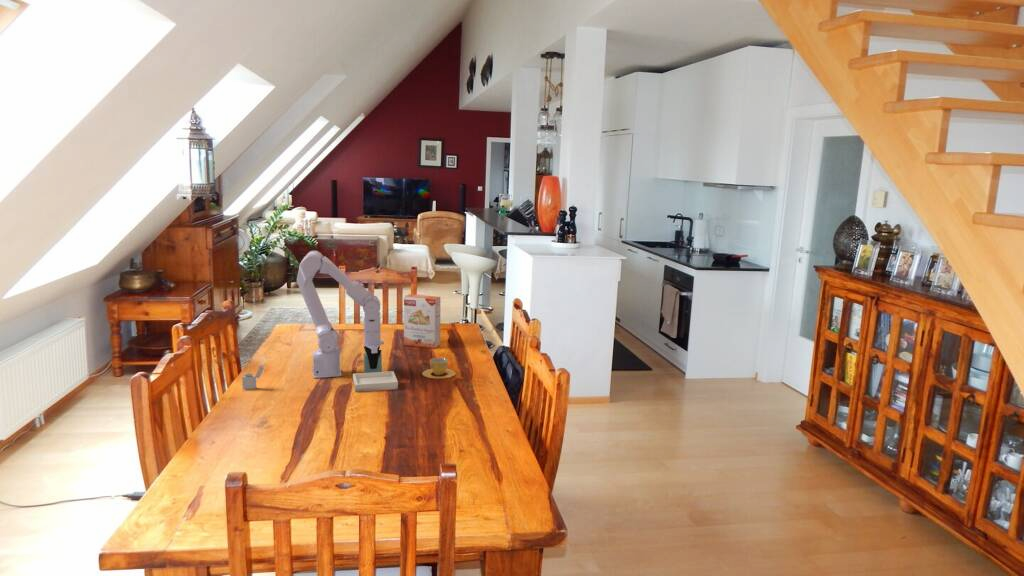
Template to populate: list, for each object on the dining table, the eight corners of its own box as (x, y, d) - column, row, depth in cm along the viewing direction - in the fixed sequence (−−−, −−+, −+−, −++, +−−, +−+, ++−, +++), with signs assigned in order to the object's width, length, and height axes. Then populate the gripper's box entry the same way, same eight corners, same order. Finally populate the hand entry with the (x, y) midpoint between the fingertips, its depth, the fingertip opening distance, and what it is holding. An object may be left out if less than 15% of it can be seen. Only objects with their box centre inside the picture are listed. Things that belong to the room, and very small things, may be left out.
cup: (449, 381, 245) (450, 366, 244) (417, 378, 247) (417, 363, 246) (459, 371, 256) (459, 356, 255) (428, 368, 259) (428, 354, 258)
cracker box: (403, 345, 286) (403, 296, 282) (409, 342, 292) (409, 293, 288) (434, 349, 283) (435, 298, 278) (440, 345, 288) (440, 296, 284)
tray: (355, 392, 231) (355, 384, 230) (352, 380, 242) (352, 373, 242) (397, 388, 235) (397, 381, 234) (393, 377, 246) (393, 371, 246)
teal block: (364, 374, 248) (364, 356, 247) (364, 372, 251) (363, 353, 250) (381, 373, 250) (381, 355, 249) (380, 371, 253) (380, 352, 252)
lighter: (242, 389, 231) (241, 366, 229) (243, 387, 232) (242, 364, 231) (264, 389, 232) (263, 365, 230) (265, 387, 233) (264, 364, 232)
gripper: (385, 335, 242) (386, 372, 245) (381, 325, 256) (381, 360, 258) (365, 336, 240) (365, 373, 243) (361, 325, 254) (362, 361, 256)
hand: (372, 367), depth 250 cm, fingers closed on teal block, 3 cm apart
